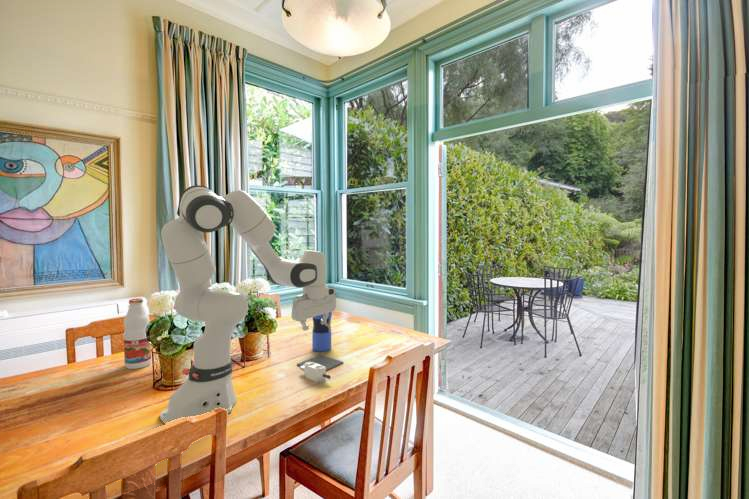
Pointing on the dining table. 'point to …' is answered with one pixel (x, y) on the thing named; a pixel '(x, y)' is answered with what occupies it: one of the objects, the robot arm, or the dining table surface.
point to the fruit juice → (136, 336)
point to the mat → (323, 361)
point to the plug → (314, 372)
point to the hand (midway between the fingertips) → (314, 326)
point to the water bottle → (321, 334)
